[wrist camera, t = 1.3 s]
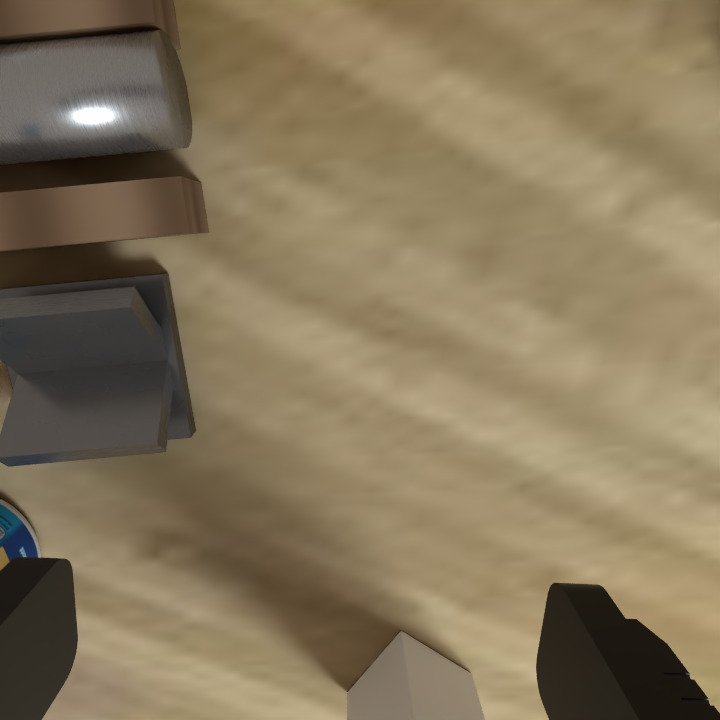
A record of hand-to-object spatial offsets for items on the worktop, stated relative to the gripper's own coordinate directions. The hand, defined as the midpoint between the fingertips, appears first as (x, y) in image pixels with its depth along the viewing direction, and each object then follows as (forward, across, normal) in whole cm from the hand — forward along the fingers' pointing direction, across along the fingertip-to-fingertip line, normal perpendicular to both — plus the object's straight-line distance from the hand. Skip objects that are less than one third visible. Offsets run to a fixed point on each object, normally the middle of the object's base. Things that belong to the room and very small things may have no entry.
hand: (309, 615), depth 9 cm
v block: (+21, +13, +2) cm, 25 cm away
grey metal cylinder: (+21, +14, -10) cm, 27 cm away
